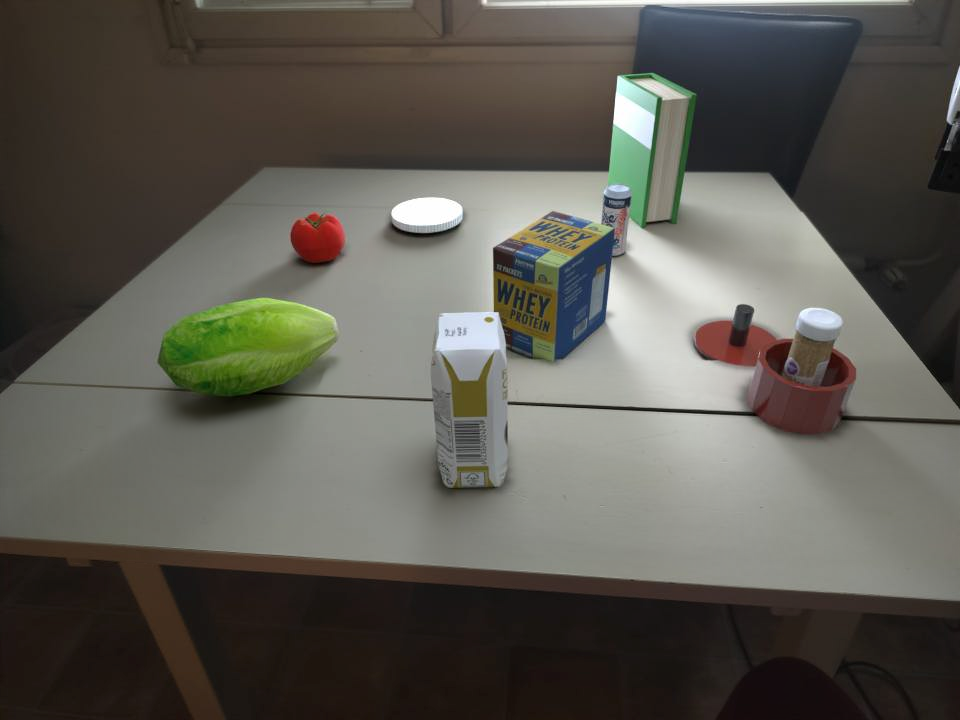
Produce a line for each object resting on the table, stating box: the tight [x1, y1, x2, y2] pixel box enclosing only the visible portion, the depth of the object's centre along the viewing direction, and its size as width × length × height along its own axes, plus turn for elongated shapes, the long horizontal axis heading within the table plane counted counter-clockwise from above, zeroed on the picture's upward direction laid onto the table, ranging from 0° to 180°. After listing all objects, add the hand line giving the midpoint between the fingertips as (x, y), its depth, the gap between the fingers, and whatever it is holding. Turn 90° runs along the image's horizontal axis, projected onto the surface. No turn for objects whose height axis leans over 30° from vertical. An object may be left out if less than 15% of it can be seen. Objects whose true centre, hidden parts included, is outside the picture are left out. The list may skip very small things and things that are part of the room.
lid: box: [693, 303, 778, 367], centre depth 93 cm, size 12×12×7 cm
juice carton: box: [430, 311, 509, 489], centre depth 71 cm, size 8×9×19 cm
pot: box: [746, 338, 857, 435], centre depth 81 cm, size 11×11×8 cm
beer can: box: [600, 184, 632, 257], centre depth 117 cm, size 5×5×12 cm
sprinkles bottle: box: [781, 307, 844, 387], centre depth 79 cm, size 5×5×13 cm
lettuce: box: [156, 297, 340, 398], centre depth 87 cm, size 13×23×12 cm, turn 110°
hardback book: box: [607, 72, 698, 228], centre depth 129 cm, size 18×7×24 cm, turn 13°
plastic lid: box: [390, 197, 463, 234], centre depth 132 cm, size 14×14×2 cm
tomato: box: [289, 211, 346, 264], centre depth 119 cm, size 9×9×8 cm
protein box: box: [492, 210, 615, 362], centre depth 95 cm, size 10×15×16 cm
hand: (947, 175), depth 70 cm, fingers open, 9 cm apart
